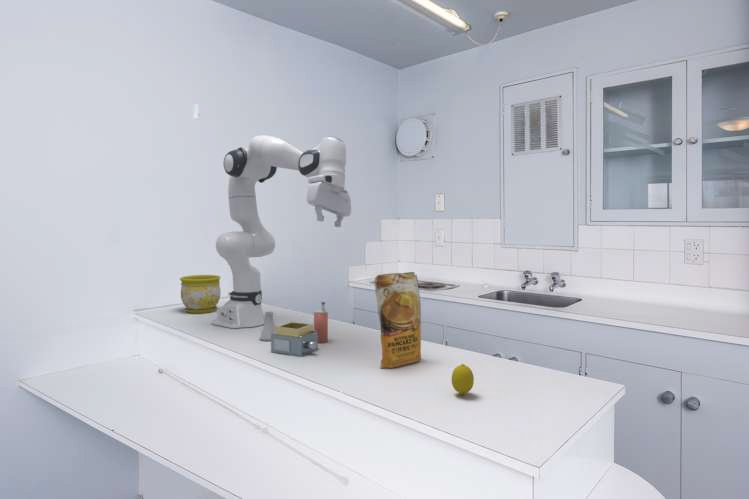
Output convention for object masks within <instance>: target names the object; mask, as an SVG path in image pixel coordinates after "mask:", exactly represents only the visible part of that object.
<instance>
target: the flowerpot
mask: <svg viewBox="0 0 749 499" xmlns="http://www.w3.org/2000/svg"><path fill="white" fill-rule="evenodd" d="M179 280H180V281H181V283H180V284H181V288H180V298H181V302H182V303H183V305H184V307H185V309H184V310H185V311H186V312H187V313H189V314H198V315H199V314H208V313H212V312H215V311H216V309H217V308H218V306H217V304H219V301H220V299H221V286H220V283H221V282H220V280H221V276H220V275H216V274H215V275H214V274H195V275H185V276H181V277H180V278H179Z"/></svg>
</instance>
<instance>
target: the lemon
mask: <svg viewBox="0 0 749 499" xmlns="http://www.w3.org/2000/svg"><path fill="white" fill-rule="evenodd" d="M451 374H452V375H451V385H452V387H453V389H454V390H455V391H456V392H458V393H459V395H461V396H464V395H465V394H467V393H469V392H470V391H471V390H472V388H473V386H474V380H475V378H474V377H475V376H474V373H473V371H472V369H471V368H470V367H469V366H467V365H465V364H464V363H461V364H459V365H457V366H455V368H454V369H453V370H452V373H451Z"/></svg>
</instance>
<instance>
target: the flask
mask: <svg viewBox="0 0 749 499" xmlns="http://www.w3.org/2000/svg"><path fill="white" fill-rule="evenodd" d="M264 315H265V318H264V321H265V323H264V324H263V328H262V330H261V334H260V336H259V339H258V340H259V341H264V342H266V341H267V342H268V341H269V342H271V334H273V332H276V330H275V327H276V325H275V322H274V321H275V320H274V316H273V315H274V311H265V312H264Z"/></svg>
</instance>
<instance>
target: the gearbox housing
mask: <svg viewBox="0 0 749 499" xmlns="http://www.w3.org/2000/svg"><path fill="white" fill-rule="evenodd" d="M275 330H276V332H273V334H271V341H270V353H274V354H281V355H282V354H283V355H288V356H295V357H296V356H297V357H304V356H307V355H308V354H310V353H312V352H314V351H316V350H318V347H319V346H318V345H319V343H318V332H317V331H316V330H314V323H305V322H295V321H289V322H286V323H284V324H281V325H277V326H275Z"/></svg>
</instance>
